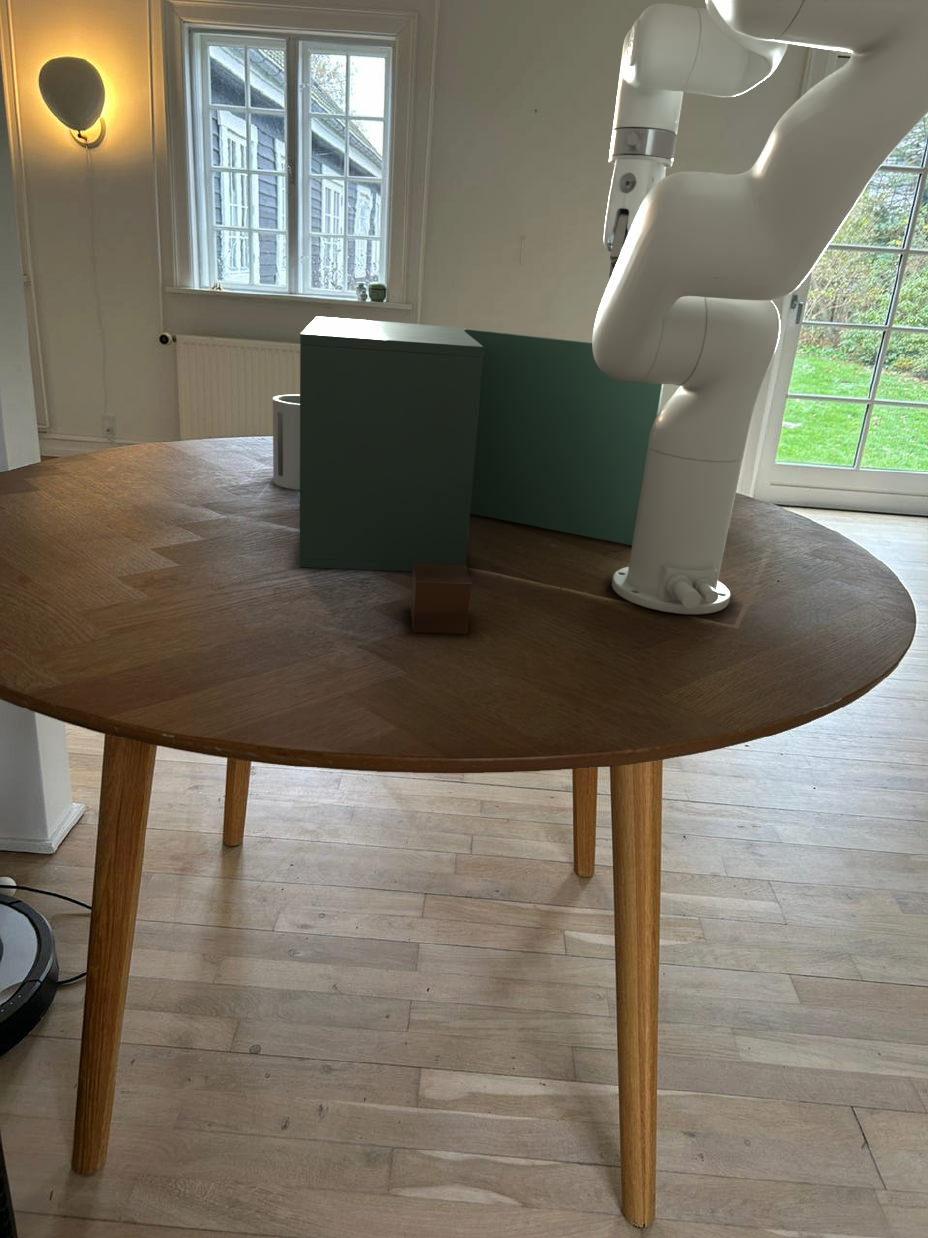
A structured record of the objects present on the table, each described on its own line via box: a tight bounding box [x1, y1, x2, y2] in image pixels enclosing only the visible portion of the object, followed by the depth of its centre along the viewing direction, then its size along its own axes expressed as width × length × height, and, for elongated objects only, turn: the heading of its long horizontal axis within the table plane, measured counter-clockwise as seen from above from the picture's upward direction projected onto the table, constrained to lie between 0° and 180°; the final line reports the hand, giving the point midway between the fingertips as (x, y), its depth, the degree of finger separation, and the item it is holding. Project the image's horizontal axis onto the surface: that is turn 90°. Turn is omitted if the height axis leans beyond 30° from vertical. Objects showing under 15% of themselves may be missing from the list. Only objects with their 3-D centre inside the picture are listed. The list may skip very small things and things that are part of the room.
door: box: [463, 328, 665, 546], centre depth 111 cm, size 6×26×24 cm, turn 66°
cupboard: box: [299, 316, 484, 573], centre depth 100 cm, size 18×26×24 cm
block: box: [410, 563, 472, 635], centre depth 80 cm, size 5×5×5 cm
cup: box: [272, 394, 300, 491], centre depth 123 cm, size 9×9×12 cm
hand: (619, 314), depth 108 cm, fingers closed
